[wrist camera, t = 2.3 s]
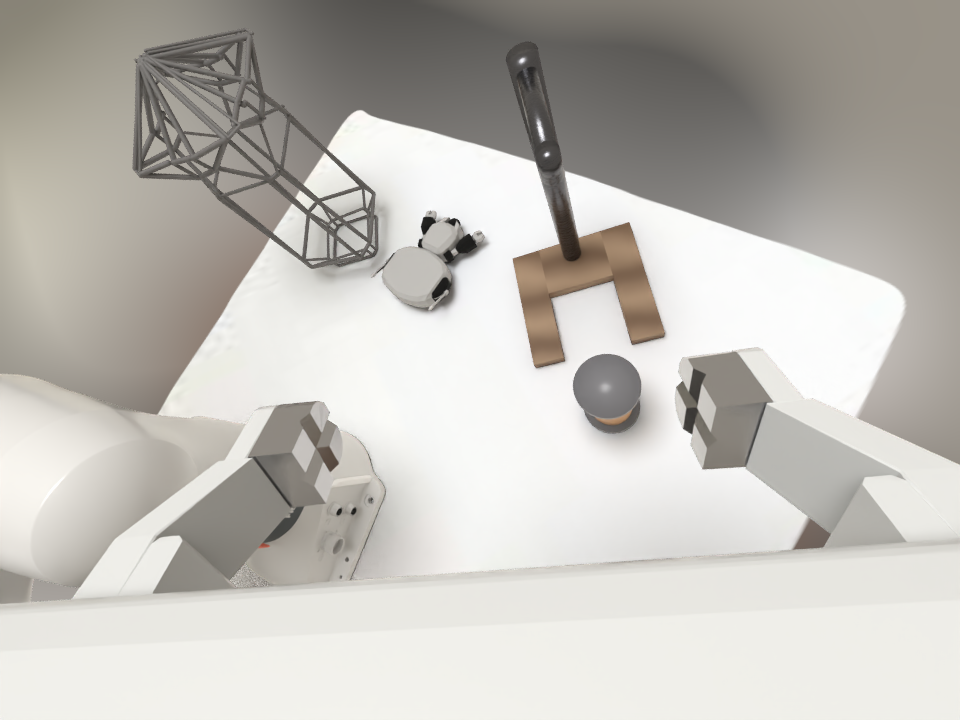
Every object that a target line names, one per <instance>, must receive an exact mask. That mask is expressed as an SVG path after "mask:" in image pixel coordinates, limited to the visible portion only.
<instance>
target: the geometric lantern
mask: <svg viewBox="0 0 960 720" xmlns="http://www.w3.org/2000/svg"><path fill="white" fill-rule="evenodd" d="M245 31H246V32H248V33H240V32H245ZM231 34H235V35H232V36H227V35H231ZM251 35H254V33H253V32H252V31H250V30H249V29H247V28H243V29H238V30H233V31H228V32H224V33H219V34H214V35H209V36H205V37H200V38H195V39H191V40H186V41H181V42H176V43H172V44H167V45H162V46H157V47H152V48H148V49H144V52H146V53H143V55H139V57H140V58H138V59H135V61H136V63H137V65H136V94H135V96H136V97H135V126H134V127H135V128H134V147H133V170H134V171H135V172H136V173H137V175H138V176H139V177H140V178H154V179H155V178H156V179H182V180H202V181H203V182H204V184H205V185H206V186H207V187H208V188H209V189H210V190H211V191H212V193H213V194H214V195H215V196H216V197H217V199H218V200H219V201H221V202H222V203H223V204H225V205H226V206H228V207H229V208H230V209H231V210H233V211H234V212H235V213H237V214H238V215H240V216H241V217H242V218H244V219H245V220H246V221H248V222H249V223H251V224H252V225H253V226H254V227H256V228H257V229H259V230H260V231H261V232H263V233H264V234H265V235H267V236H268V237H269V238H271V239H272V240H273V241H275V242H276V243H277V244H279V245H280V246H282V247H283V248H284V249H286V250H287V251H288V252H290V253H291V254H292V255H294V256H295V257H296V258H298V259H299V260H301V261H302V262H303V263H304V264H305V265H307V266H308V267H309V268H311V269H314V268H319V267H324V266H328V265H333V264H335V265H337V266H342V265H346V264H349V263H353V262H356V261H360V260H363V259H367V258H370V257H373V256H375V254H376V252H377V250H378V235H377V216H376V215H374V207H375V192H374V191H373V190H372V189H371V188H370V187H369V186H367V185H366V184H365V183H364V182H363V181H362V180H361V179H360V178H359V177H357V176H356V175H355V174H354V173H353V172H352V171H351V170H350V169H348V168H347V167H346V166H345V165H344V164H343V163H342V162H341V161H340V160H338V159H337V158H336V157H335V156H334V155H333V154H332V153H331V152H329V151H328V150H327V149H326V148H325V147H324V146H323V145H322V144H321V143H320V142H319V141H318V140H317V139H316V138H314V136H313V135H312V134H311V133H310V132H309V131H307V130H306V128H304V127H303V126H302V125H301V124H300V123H299V122H298V121H297V120H296V119H295V118H294V117H293V116H292V115H291V113H289V112H288V111H287V110H286V109H285V108H284V107H285V106H284V105H281V106H280V105H279V104H278V103H277V102H275V101H274V100H273V99H271V98H270V97H269V96H267V95H266V94H265V93H264V91H263V87H262V82H261V77H260V72H259V67H258V63H257V57H256V53H255V47H254V43H253V38H252V36H251ZM222 36H226V37H222ZM217 37H221V38H217ZM213 38H216V39H213ZM207 39H210V40H207ZM203 40H205V41H203ZM199 41H200V42H199ZM244 41H246V62H245V78H244V77H240V76H241V74H240V69H241V59H242V51H243V42H244ZM194 42H195V43H194ZM235 43H238V45H237V55H236V66H234V65H233V64H232V63H231V61H230V60H229V58H228V57H227V56H226V55H225V52H227V51H228V49H230V48H231V47H232V46H233V45H234V44H235ZM220 46H222V47H221V48H220V49H219V50H218V51H217V52H216V53H194V52H198V51H202V50H207V49H212V48H216V47H220ZM223 58H225V60H226V61H227V62H228V64H229V65H230V66H231V67H232V69H233V70H234V71H235V75H229V74H225V73H220V72H216V71H215V70H214V69H213V67H212V66H211V65H212V64H214V63H216V62H218V61H220V60H222V59H223ZM202 59H204V60H202ZM206 59H208V60H206ZM251 59H252V64H253V69H254V73H255V78H256V83H257V84H256V83H255V82H254V81H253V80H252V79H251V78H250V75H251ZM179 63H186V64H189V65H183V64H179ZM204 66H206V67H209V68H210V70H207V69H202V68H200V67H204ZM172 68H174V69H172ZM185 71H189V72H193V73H198V74H202V75H207V76H212V77H217V79H218V80H219V81H214V80H209V79H203V78H198V77H193V76H187V75H185V74H182V72H185ZM151 74H152V75H153V76H154V77H155V78H156V79H157V80H156V81H154V79H153V77H152V75H151ZM164 76H165V77H172V78H175V79H177V80H178V81H179V82H181V83H182V84H183V85H185V86H186V87H187V88H189V89H190V90H191V91H193V92H194V93H195V94H197V95H198V96H199V97H201V98H202V99H203V100H205V101H206V102H207V103H209V104H210V105H211V106H213V107H214V108H215V109H217V110H218V111H219V112H221V113H222V114H224V115H225V116H226V117H228V118H229V119H230V122H231V126H232V128H231V129H230V130H229V131H228V132H227V133H226V132H225V131H223V130H222V129H221V128H220V127H219V126H218V125H217V124H216V123H215V122H214V121H213V120H211V119H210V118H209V117H208V116H207V115H206V114H204V112H203V111H201V110H200V109H199V108H198V107H197V106H196V105H195V104H193V102H192V101H190V100H189V99H188V98H187V97H186V96H185V95H184V94H183V93H182V92H181V91H179V90H178V89H177V88H176V87H175V86H174V85H173V84H172V83H171V82H170V81H168V80H167V79H166V78H165V77H164ZM222 79H226V80H222ZM183 80H185V81H187V82H189V83H191V84H193V85H195V86H198V87H200V88H202V89H204V90H206V91H208V92H211V93H213V94H215V95H217V96H220V97H222V99H223V102H224V105H225V108H226V110H227V113H228V114H227V113H226V112H224V111H223V110H222V109H220V108H219V107H217V106H216V105H215V104H214V103H212V102H211V101H209V100H208V99H207V98H206V97H204V96H203V95H202V94H200V93H199V92H198V91H196V90H195V89H194V88H192V87H191V86H190V85H188V84H187V83H186V82H184V81H183ZM159 82H161V84H162V85H164V86H165V87H166V88H167V89H168V90H169V91H170V92H171V93H172V94H173V95H174V96H175V97H177V98H178V99H179V100H180V101H181V102H182V103H183V104H184V105H185V106H186V107H187V108H189V109H190V110H191V111H192V112H193V113H194V114H195V115H196V116H197V117H198V118H199V119H200V120H202V121H203V122H204V123H205V124H206V125H207V126H208V127H209V128H210V129H211V130H213V131H214V132H215V133H216V134H217V135H212V134H204V133H194V132H186V131H184V132H183V131H182V129H181V127H180V125H179V123H178V121H177V120H176V118H175V116H174V114H173V112H172V110H171V109H170V107H169V105H168V103H167V101H166V100H165V98H164V96H163V94H162V92H161V90H160V89H159V87H158V85H157V84H158V83H159ZM236 82H239V84H240V86H239V89H238V92H237V96H236V98H234V97H232V96H230V95H228V94H226V93H224V90H223V87H222V86H224V85H228V84H232V83H236ZM206 84H209V85H214V86H218V88H219V90H217V89H215V88H213V87H211V86H208V85H206ZM247 84H252V85H253V86H254V87H255V88H256V89H257V90H258V93H259V94H258V93H257V92H255V91H254V90H252V89H251V88H249V87H248V86H246V85H247ZM245 88H246V89H248V90H249V91H251V92H252V93H254V94H255V95H257V96H258V97H259V98H260V103H259V111H258V110H257V109H256V108H255V107H253V106H252V105H251V104H250V103H249V102H247V101H246V100H244V101H241V100H242V97H243V94H244V91H245ZM142 97H143V98H144V103H145V109H146V115H147V121H148V126H149V131H150V134H149V136H148V138H147V140H146V142H145V144H144V146H143V148H142V115H141V113H142ZM158 99H159V101H160V103H161V104H162V106H163V108H164V110H165V111H166V113H167V115H168V117H169V119H170V120H171V121H170V120H169V119H168V118H167V117H166V116H165V115H166V113H165V112H164V111H162V110H161V108H160V105H159V102H158ZM150 100H151V103H152V106H153V109H154V112H155V115H156V117H157V120H158V122H157V125H156V128H154V122H153V116H152V110H151V104H150ZM227 100H228V101H230V102H233V103H234V108H233V114H232V113H231V110H230V107H229V104H228V101H227ZM265 102H267V103H268V104H270V105H271V106H273V107H274V109H271V110H269V111H266V112H265ZM240 106H241V107H244V108H245V107H246V106H248V107H249V108H250V109H252V110H253V111H254V112H255V113H257V114H258V115H257V116H254V117H252V118H249V119H247V120H245V121H242V122H240V123H239V122H238V116H239V109H240ZM278 110H279V111H280V112H282V113H283V114H284V116H285V117H286V118H287V125H286V131H285V138H284V146H283V152H282V159H281V165H279V164H278V163H277V162H276V161H275V160H274V157H273V155H272V152H271V149H270V146H269V143H268V140H267V137H266V134H265V132H264V129H263V126H262V122H264V120H265V119H266V117H265V115H268V114H271V113H273V112H275V111H278ZM258 118H259V119H258ZM164 119H165V120H166V121H167V122H168V123H169V124H170V125H171V126H172V127H174V128H175V129H176V131H177V133H178V135H177V138H176V140H175V143H174V145H172V143H171V141H170V138H169V135H168V132H167V129H166V126H165V123H164ZM290 122H291V123H292V124H293V125H294V126H295V127H297V128H298V129H299V130H300V131H301V132H302V133H303V134H304V135H305V136H307V137H308V138H309V139H310V140H311V141H312V142H313V143H315V144H316V145H317V146H318V147H319V148H320V149H321V150H322V151H324V152H325V153H326V154H327V155H328V156H329V157H330V158H331V159H332V160H333V161H334V162H335V163H336V164H337V165H338V166H339V167H340V168H341V169H342V170H343V171H345V172H346V173H347V174H348V175H349V176H350V177H351V178H352V179H353V180H354V181H355V182H356V183H357V184H358V185H359V186H358V187H355V188H352V189H349V190H345V191H342V192H339V193H336V194H332V195H329V196H326V197H323V198H320V199H319V198H318V197H317V196H315V195H314V194H313V193H312V192H311V191H310V190H309V189H307V188H306V187H305V186H304V185H303V184H302V183H300V182H299V181H298V180H297V179H296V178H295V177H293V176H292V175H291V174H290V173H289V172H288V171H286V170H285V169H284V162H285V155H286V148H287V141H288V134H289V127H290ZM255 125H260V128H261V131H262V134H263V137H264V139H265V142H266V145H267V148H268V151H269V154H270V156H269V155H268V154H267V153H266V152H264V151H263V150H262V149H261V148H260V147H259V146H257V145H256V144H255V143H254V142H253V141H252V140H250V139H249V138H248V137H247V136H246V135H244V134H243V133H242V132H241V131H240V129H243V128H247V127H251V126H255ZM160 132H162V134H163V138H162V137H161V136H160ZM236 132H237V133H238V134H239V135H240V136H241V137H242V138H244V139H245V140H246V141H247V142H248V143H249V144H250V145H251V146H253V147H254V148H255V149H256V150H257V151H259V152H260V153H261V154H262V155H263V156H264V157H266V158H267V159H269V161H270V162H272V163H273V165H274V168H275V171H276V172H275V173H274V174H273V175H272V176H270V175H269V174H268V173H267V172H266V171H265V170H264V169H262V168H261V167H260V166H259V165H258V164H257V163H256V162H255V161H254V160H253V159H251V158H250V157H249V156H248V155H247V154H246V153H245V152H244V151H243V150H242V149H240V148H239V147H238V146H237V145H236V144H235V143H234V142H233V141H232V140H230V139H231V138H232V137H233V135H234V134H235V133H236ZM185 134H190V135H199V136H208V137H217V138H220V139H219V140H217V141H215V142H214V143H212V144H210V145H209V146H207V147H205V148H204V149H202V150H200V151H199V152H197V153H195V152H194V150H193V149H192V147H191V145H190V143H189V141H188V140H187V138H186V136H185ZM155 136H156V137H157V138H158V139H160V140H161V141H163V142H164V143H165V144H166V146H167V150H165V151H163V152H161V153H159V154H157V155H156V156H153V157H152V158H150V159H148V160H146V161H144V159H145V156H146V155H147V152H148V150H149V148H150V146H151V144H152V141H153V139H154V137H155ZM181 141H182V142H183V143H184V145H185V147H186V149H187V150H188V152H189V154H190V155H189V156H184V155H183V154H182V153H181V152H180V151H179V150H178V148H179V145H180V143H181ZM228 143H229V144H230V145H231V146H232V147H234V148H235V149H236V150H237V151H238V152H239V153H240V154H241V155H243V156H244V157H245V158H246V159H247V160H248V161H249V162H250V163H251V164H253V165H254V166H255V167H256V168H257V169H258V170H259V171H260V172H262V173H263V174H264V175H265V176H262V175H257V174H253V173H248V172H244V171H239V170H234V169H230V168H226V167H221V166H220V164H221V160H222V157H223V155H224V152H225V149H226V146H227V144H228ZM218 147H220V148H219V150H218V153H217V156H216V159H215V162H214V165H213V167H211V166H209V165H207V164H205V163H203V162H201V161H199V160H198V159H199V158H201V157H203V156H204V155H206V154H208V153H209V152H211V151H213V150H214V149H216V148H218ZM175 152H176V153H177V154H178V155H179V156H180V157H181V158H178V159H177V158H176V155H175ZM168 155H170V158H171V161H169V160H166V161H164V162H162V163H159V164H157V165H155V166H152V167H150V168H148V169H145V170H143V171H142V169H143V168H145V167H147V166H149V165H151V164H153V163H155V162H156V161H158V160H160V159H162V158H164V157H166V156H168ZM143 161H144V162H143ZM190 161H194V162H196V163H198V164H200V165H202V166H203V167H205V168H207V169H209V170H208V171H205V172H203V173H202V172H201V171H200V170H199V169H198V168H197V167H195V166H194V165H193V164H192V163H191V162H190ZM185 162H186V163H187V164H188V165H189V166H190V167H191V168H192V169H193V170H194V171H195V172H196V173H197V174H198V175H196V174H194V173H193V172H191V171H189V170H187V169H186V168H184V167H182V166H180V165H178V164H182V163H185ZM171 164H172V165H174V166H175V167H177V168H179V169H181V170H183V171H184V172H186V173H188V174H189V175H180V174H156V173H154V174H153V172H156V171H158V170H161V169H163V168H165V167H167V166H170V165H171ZM277 168H279V169H280V170H278V169H277ZM138 171H139V172H138ZM219 171H223V172H228V173H232V174H237V175H242V176H247V177H251V178H257V179H261V180H264V181H261V182H258V183H255V184H252V185H249V186H246V187H243V188H240V189H237V190H234V191H231V192H228V193H225V194H224V193H222V192H221V191H220V190H219V189H218V188H217V180H218V174H219ZM214 173H215V178H214V184H212V182H211V181H210V180H209V179H208V178H207V177H208V176H210V175H212V174H214ZM280 175H281V176H283V177H284V178H285V179H286V180H288V181H289V182H290V183H292V184H293V185H294V186H295V187H297V188H298V189H299V190H300V191H302V192H303V193H304V194H306V195H307V196H308V197H309V198H311V199H312V200H313V201H315V203H314V204H313V205H312V206H311V207H310V208H309V210H307V209H306V208H305V207H304V206H303V205H302V204H301V203H300V202H299V201H298V200H297V199H295V198H294V197H293V196H292V195H291V194H290V193H289V192H287V190H286V189H284V188H283V187H282V186H281V185H280V184H279V183H278V182H277V181H276V180H275V179H276V178H277V177H279V176H280ZM266 183H269V184H270V185H271V186H272V187H274V188H275V189H276V190H277V191H278V192H280V193H281V194H282V195H283V196H284V197H285V198H287V199H288V200H289V201H290V202H292V203H293V204H294V205H295V206H296V207H298V208H299V209H300V210H301V211H302V212H304V213H305V214H306V215H307V216H306V226H305V236H304V246H303V255H302V256H300V255H299V254H298V253H297V252H295V251H294V250H293V249H292V248H290V247H289V246H288V245H287V244H285V243H284V242H283V241H282V240H281V239H279V238H278V237H277V236H276V235H274V234H273V233H272V232H271V231H269V230H268V229H266V227H264V226H263V225H262V224H261V223H260V222H258V221H257V220H256V219H255V218H253V217H252V216H251V215H250V214H248V213H247V212H246V211H245V210H243V209H242V208H241V207H240V206H239V205H237V204H236V203H235V202H234V201H232V200H231V199H230V198H229V197H227V196H229V195H232V194H235V193H238V192H241V191H244V190H248V189H250V188H254V187H257V186H260V185H263V184H266ZM361 189H362V195H363V207H362V208H360V209H357V210H355V211H352V212H350V213H347V214H345V215H342V216H339V215H338V214H336V213H335V212H334V211H333V210H331V209H330V208H329V207H328V206H326V205H325V204H324V203H322V201H325V200H328V199H332V198H335V197H338V196H341V195H345V194H348V193H351V192H354V191H358V190H361ZM364 189H365V190H367V191H368V192H370V193H371V194H372V197H371V200H370V203H369V206H368V209H367V208H366V203H365V191H364ZM317 204H318V205H320V206H321V207H322V208H323V210H324V211H325V213H326V215H327V216H328V218H329V219H330V222H329V223H327V222H325V221H324V220H322V219H321V218H319V217H317V216H316V215H314V214H312V213H311V211H312V210H313V209H314V208H315V207H316V206H317ZM370 208H371V212H370ZM361 210H364V211H365V212H366V213H367V215H365V216H362V217H359V218H356V219H353V220H350V221H347V222H346V221H345V220H344V219H343V217H346V216H349V215H351V214H354V213H356V212H359V211H361ZM328 212H329V213H330V214H331V215H333V216H334V217H335V218H334V219H332V218H331V217H330V215H329V214H328ZM369 217H370V225H369ZM374 217H375V247H374V246H373V245H372V244H371V243H372V234H373V220H374ZM310 218H311V219H312V220H313V221H314V222H316V223H317V224H318V225H319V226H321V227H322V228H323V229H324V230H325V231H327V258H313V259H306V251H307V241H308V231H309V221H310ZM363 218H367V237H366V236H364V235H363V234H362V233H360V232H359V231H358V230H356V229H355V228H354V227H353V226H351V225H350V224H349V223H351V222H354V221H357V220H360V219H363ZM319 220H320V221H319ZM336 220H339V221H340V222H342V223H341V224H337V223H336V222H335V221H336ZM322 222H323V223H325V224H326V225H327V226H325V225H324V224H323V223H322ZM331 223H334V224H335V225H336V226H337V227H336V229H335V230H334V229H333V228H332V227H331V226H329V225H330V224H331ZM342 225H345V226H347V227H348V228H349V229H351V230H352V231H353V232H354V233H356V234H357V235H358V236H360V237H361V238H362V239H364V240H365V241H366V242H368V243H367V244H366V246H365V248H364V249H361V250H358V251H355V250H354V249H353V248H351V247H350V246H349V245H348V244H347V243H346V242H344V241H343V240H342V239H341V238H340V237H338V236H337V235H336V231H337V230H338V228H339V226H342ZM329 228H330V229H331V230H332V231H333V232H332V231H331V230H330V229H329ZM329 234H330V235H331V236H333V237H334V258H333V259H331V258H330V253H329ZM336 240H337V241H339V242H340V243H341V244H342V245H343V246H345V247H346V248H347V249H348V250H350V251H351V252H352V253H349V254H346V255H343V256H340V257H336ZM370 246H371V247H372V248H373V249H374V250H375V251H374V253H371V252H370V251H369V250H368V248H369V247H370ZM359 252H361V254H359ZM366 252H368V253H369V254H370V255H369V256H365V257H363V256H364V255H365V253H366ZM353 254H354V255H356V256H353V257H348V258H344V257H347V256H350V255H353ZM341 258H344V259H341ZM338 259H339V260H338ZM318 260H327V261H324V262H321V263H318V264H314V265H312V264H310V263H309V262H308V261H318ZM347 261H348V262H347ZM342 262H345V263H342ZM338 263H341V264H338Z"/></svg>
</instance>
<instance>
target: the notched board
mask: <svg viewBox="0 0 960 720" xmlns="http://www.w3.org/2000/svg"><path fill="white" fill-rule="evenodd" d="M578 239H579V244H580V248H581V256H580V257H579V258H578V259H577V260H576V261H567V260H565V259H564V257H563V253H562V250H561V246H560V244H558V245H555V246H552V247H548V248H545V249H542V250H539V251H536V252H533V253H529V254H526V255H523V256H520V257H517V258H513V263H514V268H515V273H516V278H517V283H518V288H519V293H520V298H521V303H522V308H523V313H524V318H525V323H526V328H527V333H528V338H529V343H530V348H531V353H532V358H533V363H534V366H535V367H536V368H538V367H542V366H547V365H551V364H555V363H559V362H563V361H565V359H564V354H563V350H562V346H561V341H560V337H559V333H558V328H557V324H556V319H555V315H554V311H553V306H552V302H551V298H553V297H557V296H560V295H564V294H567V293H571V292H574V291H578V290H581V289H585V288H588V287H592V286H595V285H599V284H603V283H606V282H610V281H614V284H615V288H616V291H617V295H618V298H619V302H620V305H621V309H622V312H623V315H624V319H625V322H626V326H627V329H628V333H629V336H630V340H631V343H632V345H633V344H637V343H641V342H645V341H649V340H653V339H657V338H661V337H664V334H665V332H664V329H663V325H662V322H661V319H660V316H659V313H658V310H657V307H656V304H655V301H654V297H653V294H652V291H651V288H650V285H649V282H648V279H647V276H646V273H645V269H644V266H643V263H642V260H641V257H640V254H639V251H638V248H637V245H636V241H635V238H634V235H633V232H632V229H631V226H630V223H629V222H628V223H625V224H622V225H618V226H615V227H612V228H609V229H606V230H603V231H599V232H596V233H593V234H590V235H587V236H583V237H580V238H578Z"/></svg>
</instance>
